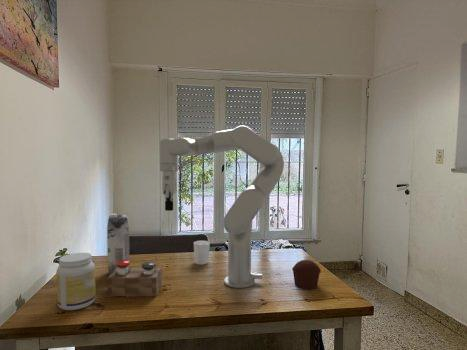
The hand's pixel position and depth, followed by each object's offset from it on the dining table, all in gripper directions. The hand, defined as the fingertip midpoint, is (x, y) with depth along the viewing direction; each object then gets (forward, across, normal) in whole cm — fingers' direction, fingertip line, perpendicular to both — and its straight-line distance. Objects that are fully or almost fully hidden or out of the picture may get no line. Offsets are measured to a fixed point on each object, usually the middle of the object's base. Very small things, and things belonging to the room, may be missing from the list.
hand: (169, 210), depth 140 cm
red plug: (+28, -14, +16) cm, 35 cm away
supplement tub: (+29, -25, +29) cm, 48 cm away
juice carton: (+29, +4, +23) cm, 37 cm away
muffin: (+29, -12, -57) cm, 65 cm away
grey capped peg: (+29, -14, +6) cm, 32 cm away
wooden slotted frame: (+29, -14, +11) cm, 34 cm away
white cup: (+29, +18, -13) cm, 37 cm away
